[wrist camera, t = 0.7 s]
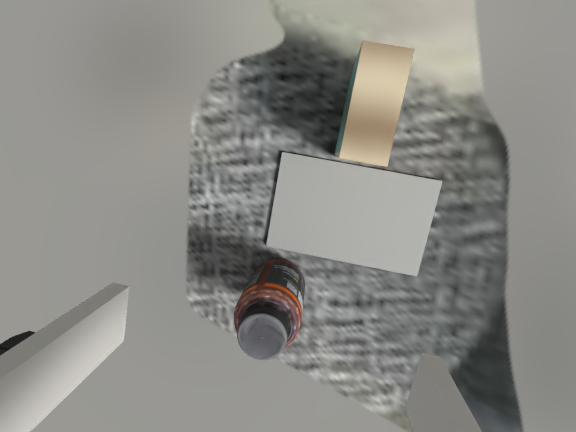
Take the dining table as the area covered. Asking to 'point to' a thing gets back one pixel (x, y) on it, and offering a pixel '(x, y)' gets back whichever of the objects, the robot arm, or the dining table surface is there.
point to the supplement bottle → (270, 309)
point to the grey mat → (352, 213)
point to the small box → (373, 103)
